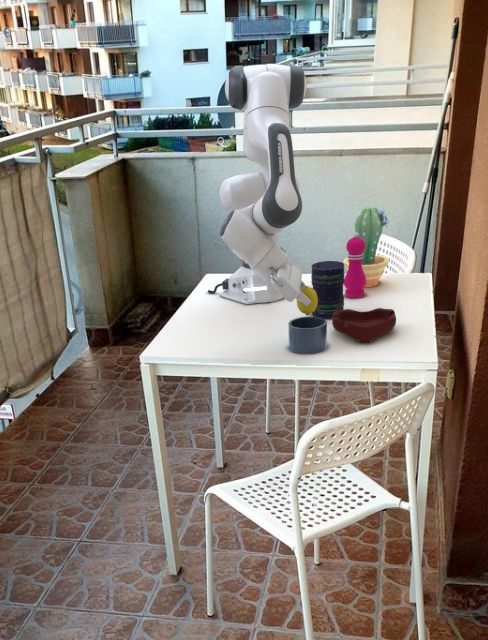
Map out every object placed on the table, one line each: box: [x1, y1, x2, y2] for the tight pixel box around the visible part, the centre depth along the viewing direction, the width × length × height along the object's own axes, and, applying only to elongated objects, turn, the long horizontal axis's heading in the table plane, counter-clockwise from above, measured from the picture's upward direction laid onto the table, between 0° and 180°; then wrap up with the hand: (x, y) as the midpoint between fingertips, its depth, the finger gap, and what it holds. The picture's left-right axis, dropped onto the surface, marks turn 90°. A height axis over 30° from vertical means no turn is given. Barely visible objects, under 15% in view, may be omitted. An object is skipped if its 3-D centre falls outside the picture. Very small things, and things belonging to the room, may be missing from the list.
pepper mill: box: [343, 232, 366, 299], centre depth 223 cm, size 7×7×20 cm
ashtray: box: [331, 307, 397, 344], centre depth 195 cm, size 18×16×5 cm
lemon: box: [296, 285, 318, 317], centre depth 185 cm, size 6×6×8 cm
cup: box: [287, 315, 328, 355], centre depth 190 cm, size 10×10×7 cm
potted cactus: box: [342, 205, 390, 288], centre depth 232 cm, size 15×15×25 cm
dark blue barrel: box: [310, 260, 346, 320], centre depth 210 cm, size 10×10×15 cm
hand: (309, 299), depth 184 cm, fingers closed on lemon, 5 cm apart
